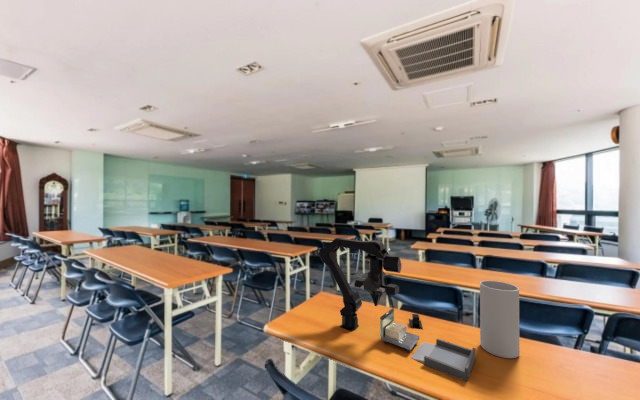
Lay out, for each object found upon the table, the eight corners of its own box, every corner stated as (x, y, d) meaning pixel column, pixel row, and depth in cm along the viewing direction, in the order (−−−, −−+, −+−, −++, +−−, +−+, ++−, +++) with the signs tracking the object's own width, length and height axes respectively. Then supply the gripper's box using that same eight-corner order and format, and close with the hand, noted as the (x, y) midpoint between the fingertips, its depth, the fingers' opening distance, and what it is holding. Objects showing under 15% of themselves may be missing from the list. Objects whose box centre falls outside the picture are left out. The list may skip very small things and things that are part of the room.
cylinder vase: (519, 348, 100) (519, 284, 101) (519, 364, 90) (519, 293, 91) (482, 337, 108) (481, 278, 108) (478, 351, 98) (478, 286, 98)
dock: (409, 361, 93) (409, 348, 93) (423, 343, 105) (423, 331, 105) (467, 385, 81) (467, 369, 81) (475, 361, 93) (475, 347, 93)
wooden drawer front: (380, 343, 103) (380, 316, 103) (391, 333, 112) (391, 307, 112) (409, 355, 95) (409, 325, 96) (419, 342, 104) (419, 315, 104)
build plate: (425, 333, 113) (425, 322, 113) (408, 331, 115) (408, 320, 115) (421, 320, 125) (421, 310, 125) (406, 318, 127) (406, 309, 127)
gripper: (348, 269, 110) (348, 306, 110) (389, 277, 99) (389, 317, 98) (360, 265, 119) (360, 299, 119) (399, 271, 108) (399, 308, 107)
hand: (376, 305), depth 110 cm, fingers closed
